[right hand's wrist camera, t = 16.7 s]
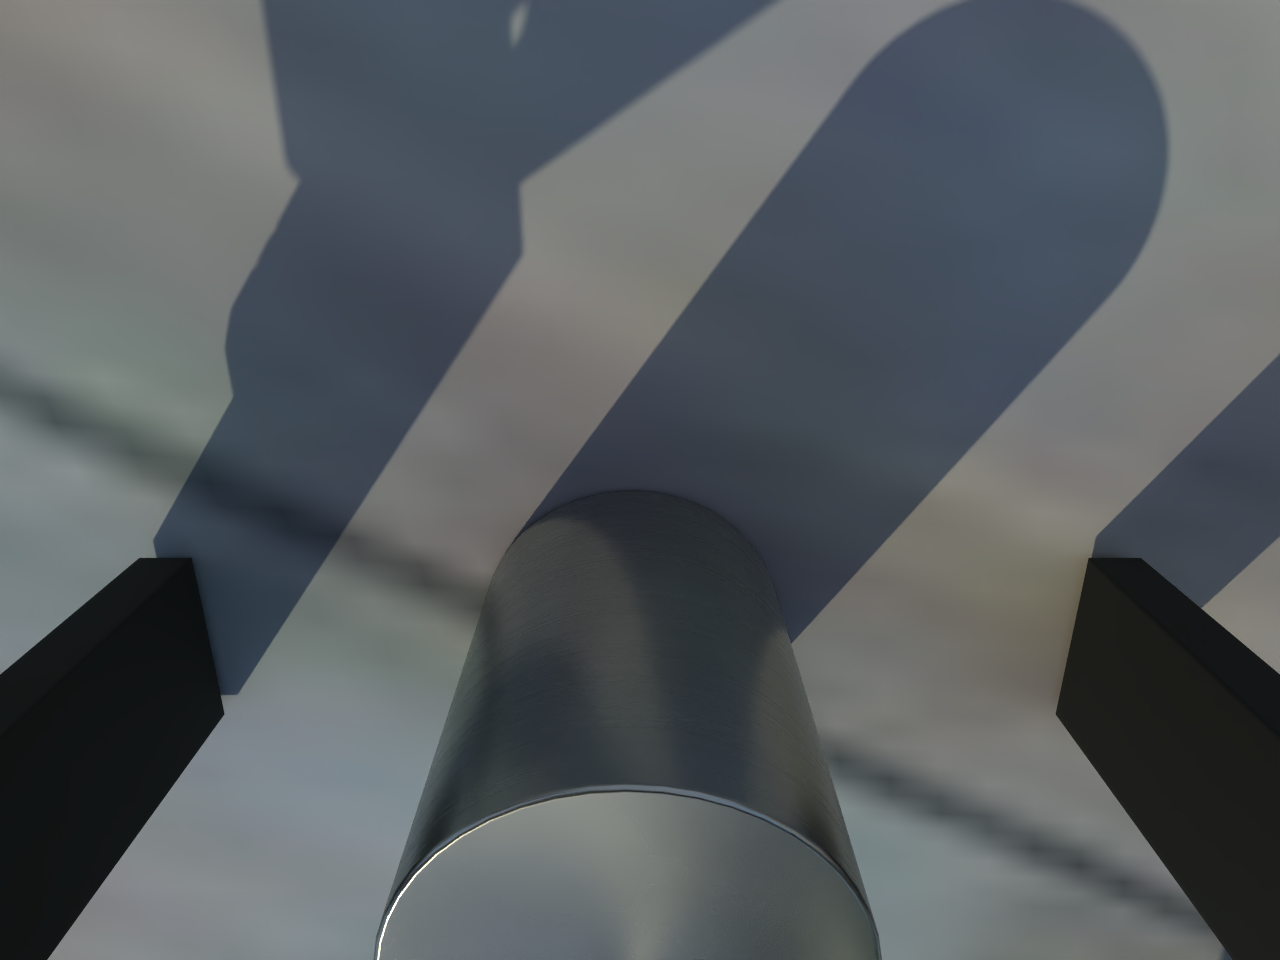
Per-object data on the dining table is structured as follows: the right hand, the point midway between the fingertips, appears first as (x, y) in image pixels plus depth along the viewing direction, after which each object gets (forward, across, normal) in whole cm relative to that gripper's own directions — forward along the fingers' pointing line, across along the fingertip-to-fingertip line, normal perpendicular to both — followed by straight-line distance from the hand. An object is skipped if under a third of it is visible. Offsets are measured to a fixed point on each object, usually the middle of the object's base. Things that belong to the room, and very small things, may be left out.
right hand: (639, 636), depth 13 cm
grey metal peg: (0, 0, 0) cm, 0 cm away
